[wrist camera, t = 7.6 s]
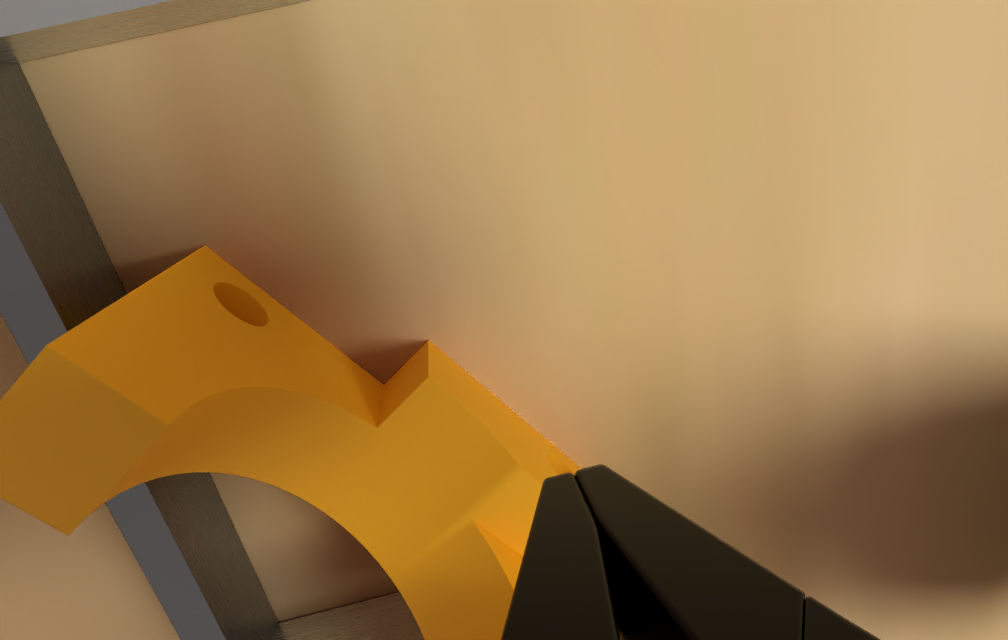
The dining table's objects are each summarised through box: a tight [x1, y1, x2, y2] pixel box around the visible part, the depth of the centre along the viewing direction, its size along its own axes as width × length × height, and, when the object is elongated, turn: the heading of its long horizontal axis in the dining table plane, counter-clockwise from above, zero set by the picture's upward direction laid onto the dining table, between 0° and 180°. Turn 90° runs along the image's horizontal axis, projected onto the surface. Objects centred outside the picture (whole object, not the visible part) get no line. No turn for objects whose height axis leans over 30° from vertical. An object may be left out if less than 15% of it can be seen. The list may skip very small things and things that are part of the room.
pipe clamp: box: [0, 245, 581, 640], centre depth 13 cm, size 12×4×6 cm, turn 45°
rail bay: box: [0, 0, 425, 640], centre depth 14 cm, size 11×18×2 cm, turn 12°
